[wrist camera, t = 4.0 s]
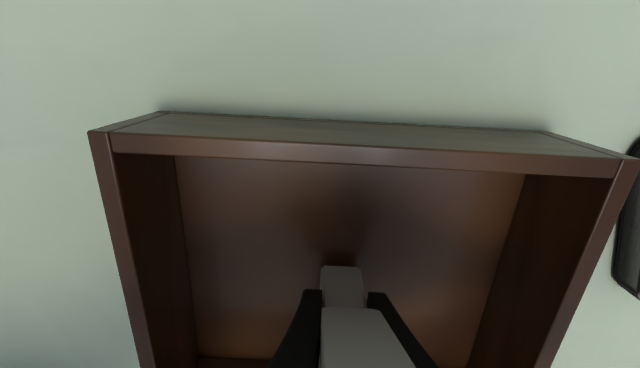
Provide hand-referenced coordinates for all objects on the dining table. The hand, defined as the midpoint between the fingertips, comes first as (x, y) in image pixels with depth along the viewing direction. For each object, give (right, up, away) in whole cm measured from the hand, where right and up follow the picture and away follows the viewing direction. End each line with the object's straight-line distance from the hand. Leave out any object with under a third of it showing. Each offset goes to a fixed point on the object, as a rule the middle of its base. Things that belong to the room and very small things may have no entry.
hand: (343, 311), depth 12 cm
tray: (0, +1, +3) cm, 3 cm away
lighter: (0, +1, +2) cm, 2 cm away
